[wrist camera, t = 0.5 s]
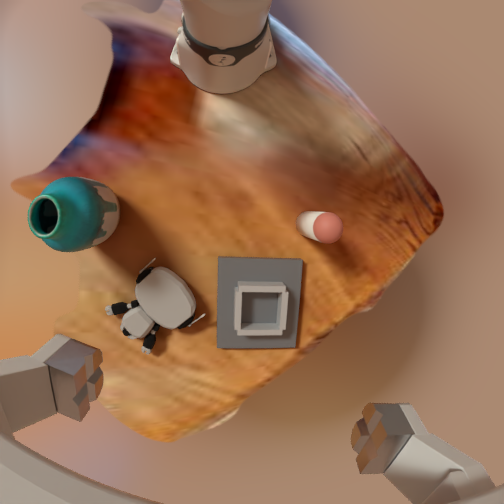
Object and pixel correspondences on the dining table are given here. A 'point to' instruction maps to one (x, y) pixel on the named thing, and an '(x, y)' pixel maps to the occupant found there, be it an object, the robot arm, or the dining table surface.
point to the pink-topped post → (320, 226)
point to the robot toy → (156, 305)
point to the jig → (258, 302)
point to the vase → (74, 214)
